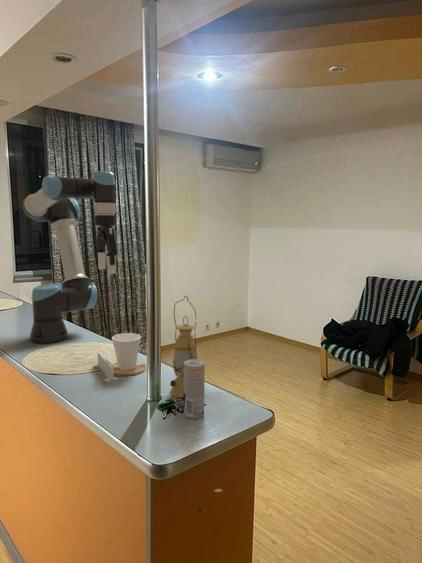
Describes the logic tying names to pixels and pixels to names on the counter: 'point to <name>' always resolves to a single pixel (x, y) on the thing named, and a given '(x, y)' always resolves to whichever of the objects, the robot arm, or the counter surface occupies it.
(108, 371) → the acrylic wall
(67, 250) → the robot arm
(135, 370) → the cork coaster
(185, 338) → the lantern
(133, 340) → the cup
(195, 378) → the beverage can
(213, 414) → the counter surface
